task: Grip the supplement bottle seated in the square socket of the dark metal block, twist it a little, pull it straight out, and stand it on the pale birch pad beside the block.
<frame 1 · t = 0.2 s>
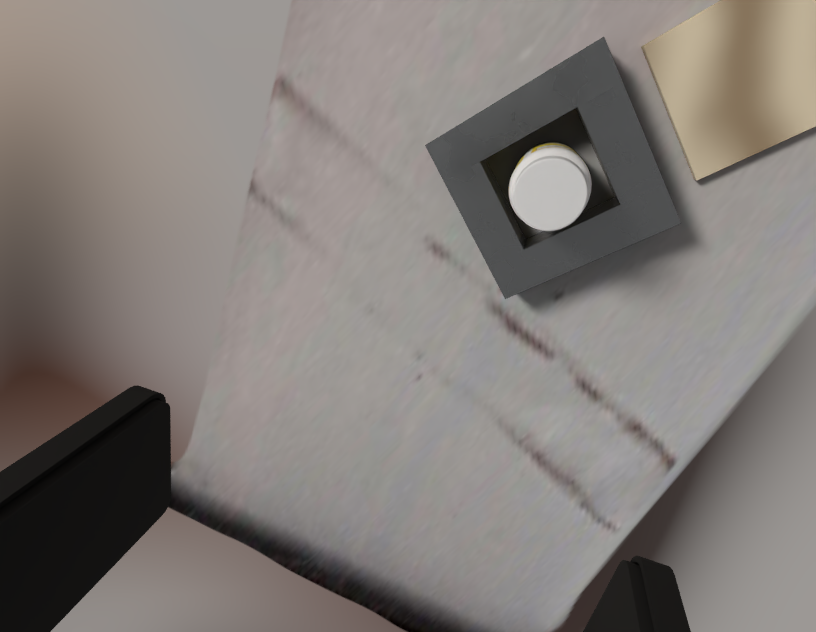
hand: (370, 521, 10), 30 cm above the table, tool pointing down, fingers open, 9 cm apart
socket block: (548, 177, 35), on the table
supplement bottle: (548, 176, 35), resting in socket block
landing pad: (747, 74, 30), on the table
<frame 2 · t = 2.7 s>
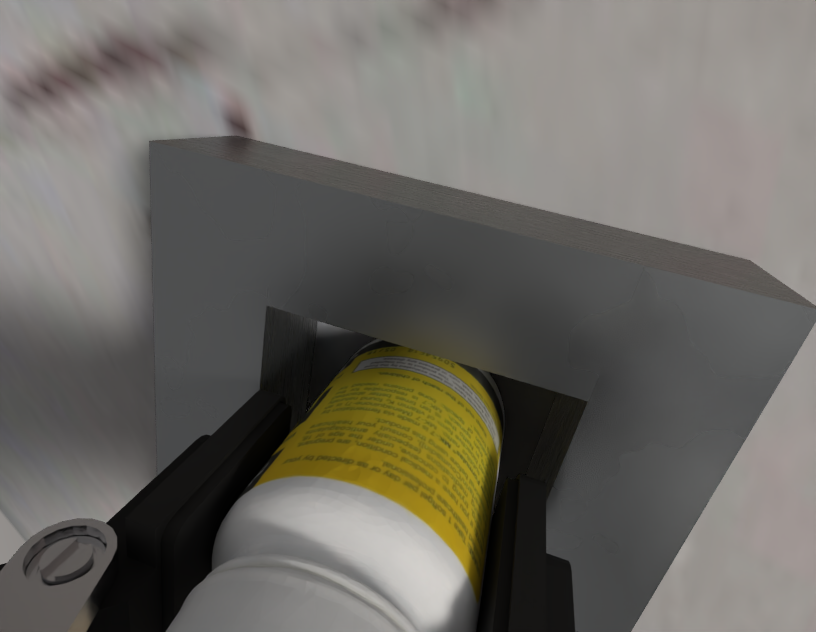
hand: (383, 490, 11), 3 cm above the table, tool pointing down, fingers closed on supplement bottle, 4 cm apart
socket block: (419, 407, 14), on the table
supplement bottle: (421, 403, 14), resting in socket block, touching gripper
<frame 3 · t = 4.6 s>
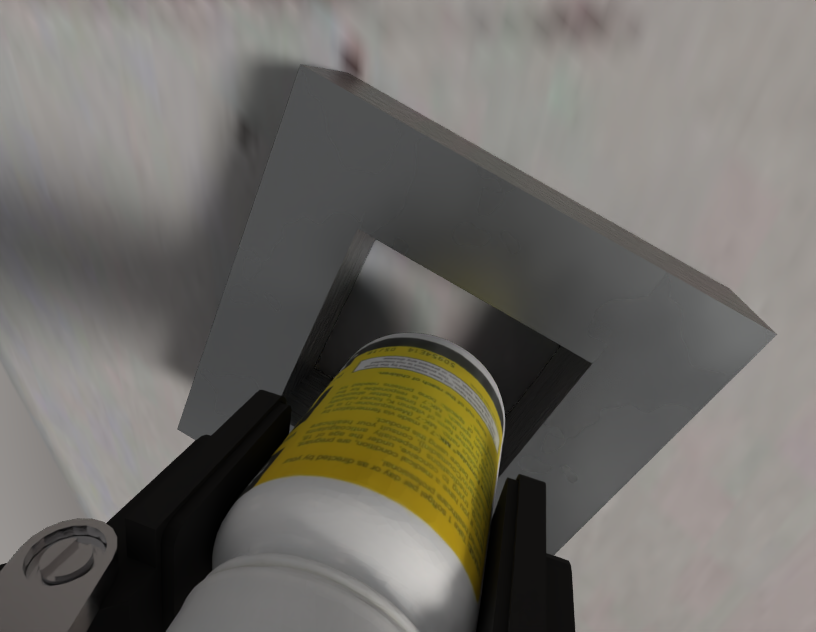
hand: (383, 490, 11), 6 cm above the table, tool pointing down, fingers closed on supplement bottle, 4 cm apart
socket block: (435, 344, 16), on the table
supplement bottle: (421, 403, 14), point 3 cm above the table, touching gripper
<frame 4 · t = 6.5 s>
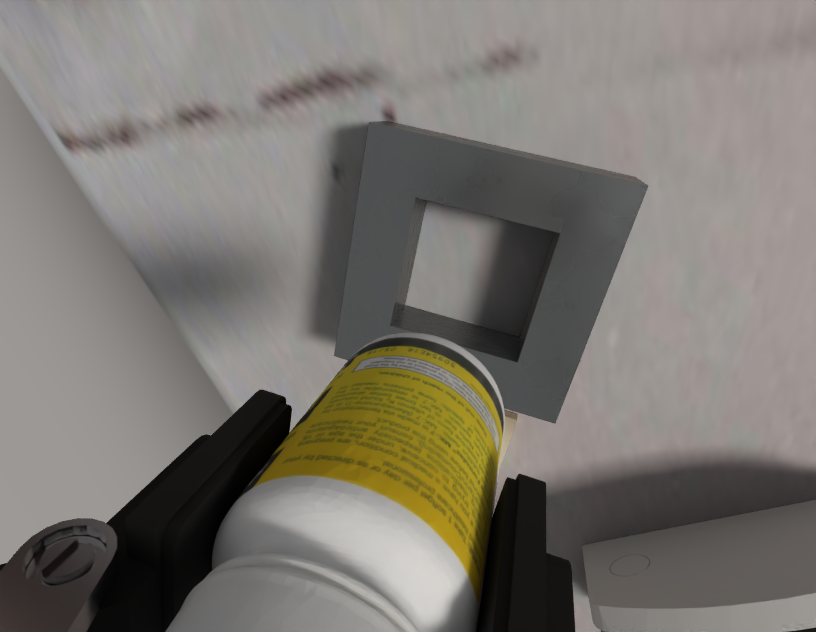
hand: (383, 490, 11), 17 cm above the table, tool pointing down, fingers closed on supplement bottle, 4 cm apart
socket block: (476, 265, 26), on the table
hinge: (726, 528, 29), on the table
supplement bottle: (421, 403, 14), point 14 cm above the table, touching gripper
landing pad: (427, 450, 31), on the table
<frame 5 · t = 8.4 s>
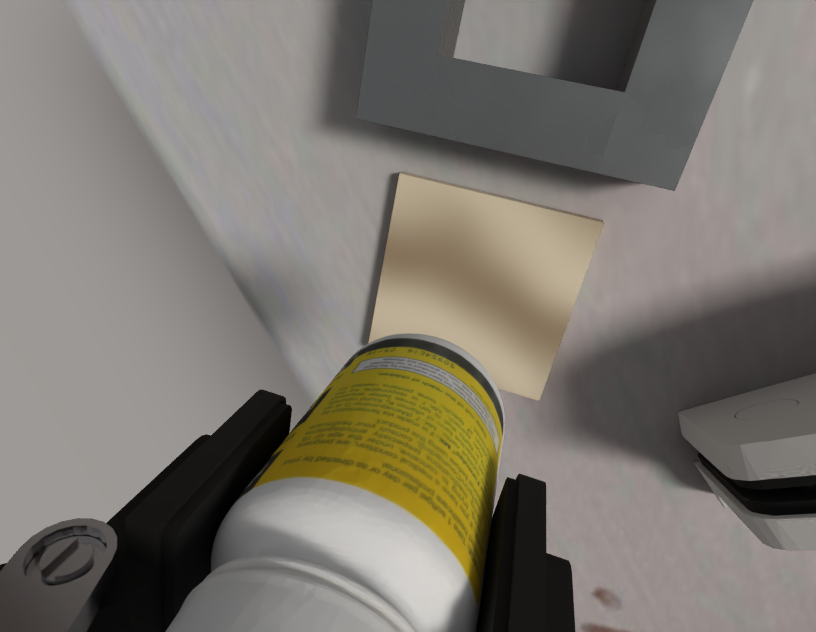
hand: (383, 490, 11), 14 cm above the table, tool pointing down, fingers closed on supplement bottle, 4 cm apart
supplement bottle: (421, 403, 14), point 11 cm above the table, touching gripper
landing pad: (474, 288, 24), on the table
when the fingers open (5 cm above the table, at t = 10.2 s): supplement bottle drops 1 cm, resting on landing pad.
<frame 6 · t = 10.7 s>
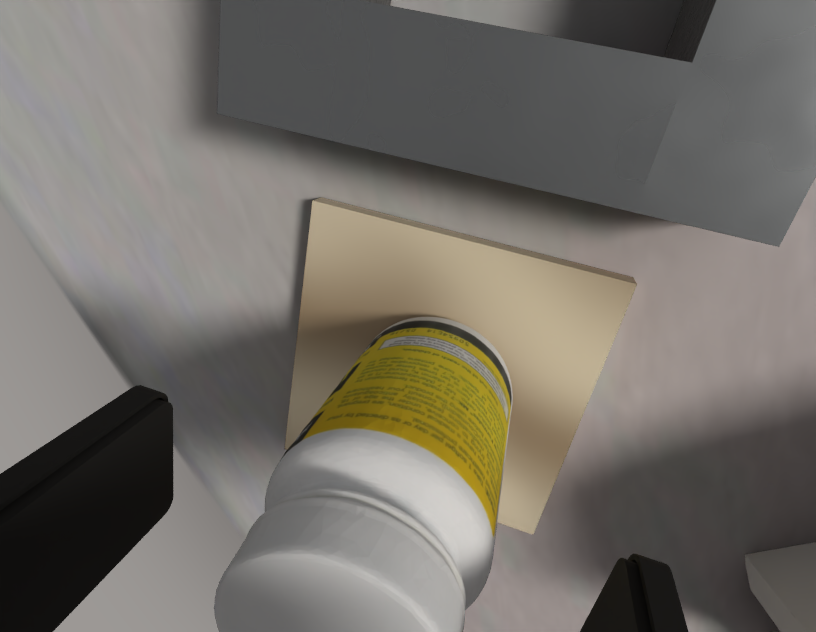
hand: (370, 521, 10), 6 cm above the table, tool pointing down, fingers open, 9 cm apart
supplement bottle: (436, 381, 15), resting on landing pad
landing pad: (435, 371, 16), on the table
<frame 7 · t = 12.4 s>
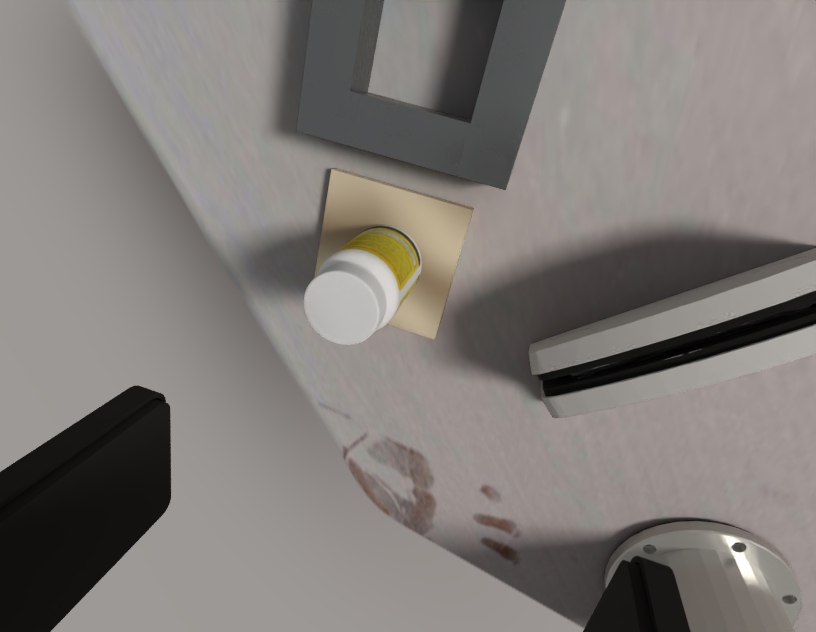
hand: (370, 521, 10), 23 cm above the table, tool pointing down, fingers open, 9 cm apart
socket block: (435, 42, 27), on the table
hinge: (665, 314, 30), on the table
supplement bottle: (387, 259, 32), resting on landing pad
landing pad: (387, 255, 32), on the table
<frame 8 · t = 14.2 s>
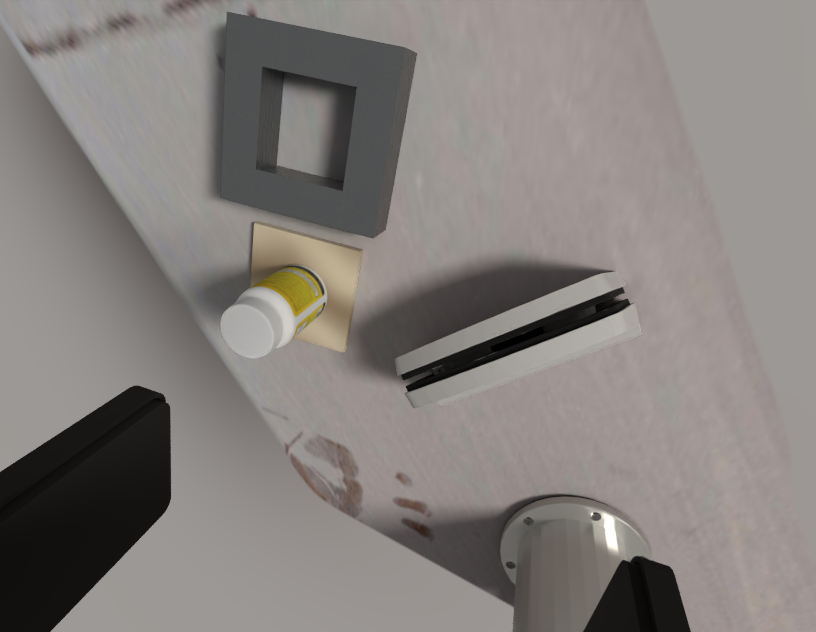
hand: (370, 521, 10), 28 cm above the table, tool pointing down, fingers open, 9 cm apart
socket block: (321, 129, 36), on the table
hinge: (515, 326, 38), on the table
supplement bottle: (303, 290, 41), resting on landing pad
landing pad: (303, 287, 41), on the table
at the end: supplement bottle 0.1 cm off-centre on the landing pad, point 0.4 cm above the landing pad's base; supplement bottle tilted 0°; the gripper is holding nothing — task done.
